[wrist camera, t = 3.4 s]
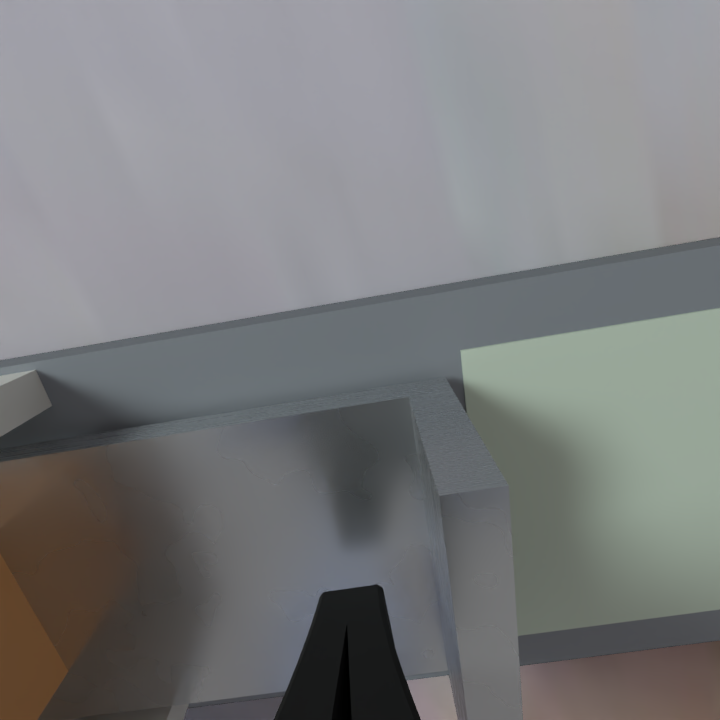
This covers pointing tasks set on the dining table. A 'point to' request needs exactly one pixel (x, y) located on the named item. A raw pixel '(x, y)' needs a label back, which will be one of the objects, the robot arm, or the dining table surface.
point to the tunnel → (9, 410)
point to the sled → (264, 548)
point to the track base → (495, 421)
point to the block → (24, 655)
